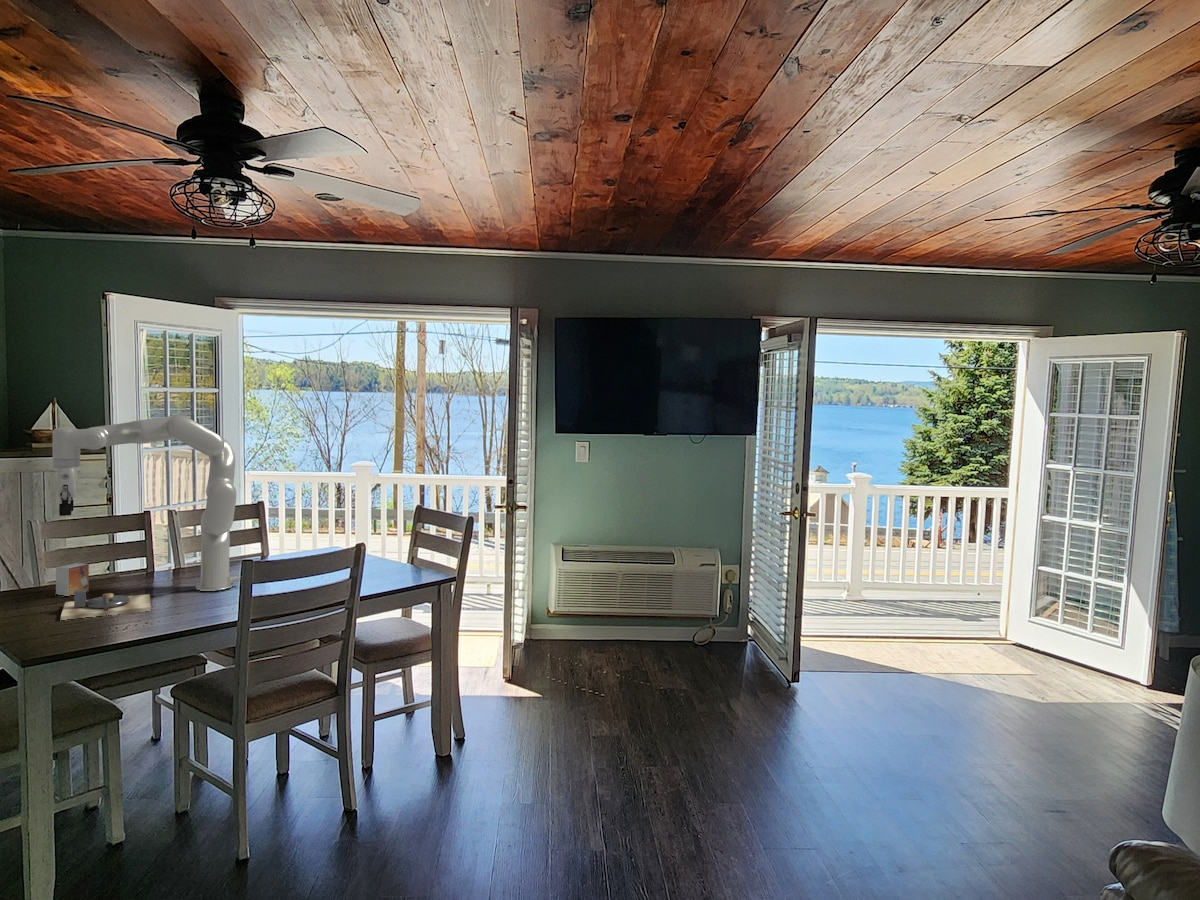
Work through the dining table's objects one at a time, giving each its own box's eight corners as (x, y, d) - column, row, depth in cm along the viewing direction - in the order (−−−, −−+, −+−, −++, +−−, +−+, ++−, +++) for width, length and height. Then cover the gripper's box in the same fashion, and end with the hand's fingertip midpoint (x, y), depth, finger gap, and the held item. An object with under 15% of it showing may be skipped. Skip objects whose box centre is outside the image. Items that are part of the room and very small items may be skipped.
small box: (68, 597, 242) (68, 568, 242) (55, 596, 244) (55, 566, 243) (89, 591, 250) (89, 563, 250) (76, 590, 251) (76, 562, 251)
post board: (149, 598, 246) (149, 580, 246) (150, 611, 231) (150, 592, 231) (65, 606, 232) (65, 587, 232) (60, 621, 218) (60, 600, 217)
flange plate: (129, 596, 240) (129, 582, 240) (129, 605, 230) (129, 590, 230) (75, 601, 231) (75, 587, 231) (73, 611, 222) (73, 595, 221)
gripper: (78, 466, 229) (78, 516, 230) (81, 461, 243) (81, 509, 244) (50, 466, 225) (50, 517, 226) (54, 461, 239) (54, 510, 240)
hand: (66, 513), depth 235 cm, fingers open, 9 cm apart
